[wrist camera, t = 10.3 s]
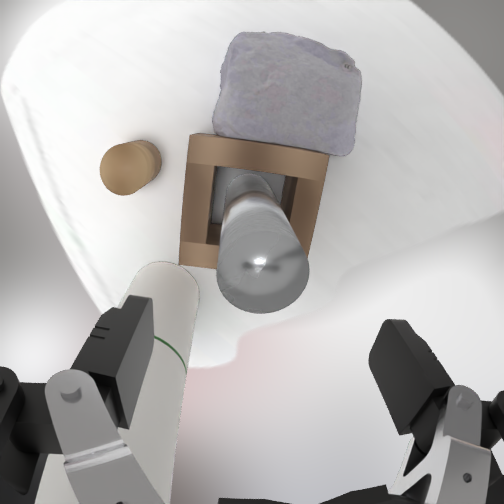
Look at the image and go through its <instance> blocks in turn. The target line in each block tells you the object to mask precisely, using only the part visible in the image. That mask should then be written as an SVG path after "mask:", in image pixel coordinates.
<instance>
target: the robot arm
mask: <svg viewBox="0 0 504 504" xmlns="http://www.w3.org/2000/svg"><path fill="white" fill-rule="evenodd" d="M153 346H154V319H153V300H152V298H149V297H142V296H135V295H129V296H128V297H127V299H126V301H125V302H124V304H123V306H122V308H121V309H120V308H114V307H112V308H111V309H110V310H108V311H107V312H105V313H104V314H102V315H101V317H100V318H99V320H98V322H97V323H96V325H95V328H93V330H92V332H91V334H90V337H88V338H87V340H86V342H85V344H84V345H83V347H82V349H81V351H80V352H79V354H78V356H77V358H76V360H75V361H74V363H73V365H72V367H71V368H70V370H63V371H60V372H58V373H56V374H55V375H53V376H52V377H51V378H50V379H49V380H48V382H47V383H23V382H19V380H18V378H17V376H16V374H15V373H14V372H13V371H12V370H11V369H9V368H6V367H0V504H35V500H36V496H37V493H38V489H39V485H40V481H41V478H42V474H43V471H44V468H45V464H46V461H47V458H48V455H49V454H63V455H64V458H65V462H64V468H65V471H66V474H67V477H68V479H69V482H70V484H71V486H72V489H73V491H74V493H75V495H76V498H77V500H78V502H79V504H165V503H164V502H163V500H162V499H161V497H160V496H159V495H158V493H157V492H156V490H155V489H154V487H153V486H152V484H151V483H150V481H149V480H148V478H147V476H146V475H145V473H144V472H143V470H142V468H141V467H140V465H139V463H138V462H137V460H136V458H135V457H134V455H133V453H132V452H131V450H130V449H129V447H128V446H127V444H125V443H124V442H123V440H122V438H121V436H120V434H119V433H118V431H117V430H118V427H119V428H124V429H128V430H129V429H130V425H131V421H132V418H133V414H134V411H135V407H136V404H137V400H138V397H139V394H140V390H141V387H142V384H143V380H144V377H145V374H146V371H147V368H148V364H149V361H150V358H151V355H152V352H153ZM369 367H370V370H371V372H372V374H373V376H374V378H375V380H376V383H377V385H378V387H379V389H380V392H381V394H382V396H383V399H384V401H385V403H386V405H387V408H388V410H389V412H390V415H391V417H392V419H393V422H394V424H395V426H396V429H397V431H398V434H399V435H404V434H409V433H412V434H413V436H414V437H413V438H412V439H411V440H410V442H409V444H408V447H407V450H406V454H405V456H404V459H403V462H402V465H401V467H400V470H399V473H398V476H397V478H396V481H395V482H394V484H393V486H392V487H391V489H390V490H389V491H388V490H387V487H386V485H382V486H377V487H372V488H367V489H362V490H357V491H351V492H349V493H346V494H343V495H341V496H338V497H336V498H334V499H331V500H328V501H325V502H322V503H320V504H504V475H502V473H501V471H500V468H499V466H498V464H497V462H496V459H495V457H494V455H493V453H492V451H491V448H492V447H493V446H494V445H495V444H496V443H497V442H498V441H499V440H500V439H501V438H502V439H503V441H504V391H501V392H499V393H498V395H497V396H496V397H495V398H494V400H493V401H492V402H491V401H481V400H480V398H479V396H478V395H477V394H476V393H475V392H474V391H473V390H472V389H470V388H468V387H466V386H463V385H456V386H455V384H454V383H453V381H452V380H451V378H450V377H449V375H448V374H447V373H446V371H445V369H444V368H443V366H442V365H441V363H440V362H439V360H437V357H436V356H435V354H434V353H432V350H431V349H430V347H429V346H428V344H427V343H426V342H425V341H424V340H423V339H422V338H421V337H420V336H418V335H417V334H416V333H415V332H414V330H413V329H412V327H411V326H410V325H409V323H408V322H407V321H406V320H396V319H387V320H385V321H384V323H383V324H382V326H381V328H380V331H379V333H378V335H377V338H376V340H375V343H374V345H373V347H372V349H371V351H370V354H369ZM218 504H289V503H283V502H277V501H272V500H266V499H230V498H219V500H218Z"/></svg>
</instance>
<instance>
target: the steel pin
mask: <svg viewBox="0 0 504 504" xmlns="http://www.w3.org/2000/svg"><path fill="white" fill-rule="evenodd" d="M308 278H309V263H308V259H307V256H306V254H305V252H304V250H303V248H302V246H301V244H300V242H299V240H298V239H297V237H296V235H295V233H294V231H293V229H292V227H291V225H290V223H289V222H288V220H287V218H286V216H285V214H284V212H283V210H282V208H281V207H280V205H279V203H278V201H277V199H276V197H275V196H274V194H273V192H272V190H271V188H270V187H269V185H268V183H267V182H266V181H265V180H264V179H263V178H262V177H260V176H258V175H256V174H250V173H247V174H242V175H239V176H237V177H236V178H234V179H233V180H232V181H231V182H230V184H229V186H228V188H227V191H226V198H225V206H224V213H223V221H222V229H221V237H220V246H219V254H218V263H217V282H218V286H219V288H220V291H221V292H222V294H223V296H224V297H225V298H226V299H227V300H228V301H229V302H230V303H231V304H232V305H234V306H235V307H237V308H239V309H241V310H244V311H247V312H250V313H260V314H263V313H271V312H275V311H279V310H281V309H283V308H285V307H287V306H289V305H290V304H292V303H293V302H294V301H295V300H296V299H297V298H298V297H299V296H300V295H301V294H302V292H303V291H304V289H305V287H306V285H307V282H308Z"/></svg>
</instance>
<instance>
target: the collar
mask: <svg viewBox="0 0 504 504" xmlns="http://www.w3.org/2000/svg"><path fill="white" fill-rule="evenodd" d="M328 160H329V155H326V154H324V153H321V152H318V151H314V150H309V149H304V148H299V147H293V146H286V145H280V144H273V143H265V142H259V141H252V140H245V139H238V138H230V137H224V136H219V135H212V134H202V133H197V134H192V135H190V137H189V146H188V154H187V163H186V173H185V183H184V194H183V206H182V218H181V232H180V248H179V265H186V266H194V267H203V268H211V269H217V263H218V254H219V246H220V237H221V229H222V225H220V224H211V217H212V208H213V199H214V191H215V182H216V174H217V166H223V167H231V168H239V169H247V170H254V171H261V172H268V173H275V174H281V175H286V177H285V183H284V188H283V194H282V199H281V205H280V207H281V208H282V210H283V212H284V214H285V216H286V218H287V220H288V222H289V223H290V225H291V227H292V229H293V231H294V233H295V235H296V237H297V239H298V240H299V242H300V244H301V246H302V248H303V250H304V252H305V254H306V256H307V258H308V254H309V250H310V245H311V241H312V237H313V232H314V228H315V223H316V219H317V214H318V210H319V205H320V200H321V195H322V191H323V186H324V181H325V176H326V171H327V166H328Z"/></svg>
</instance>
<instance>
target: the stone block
mask: <svg viewBox="0 0 504 504" xmlns="http://www.w3.org/2000/svg"><path fill="white" fill-rule="evenodd" d="M220 73H221V84H220V88H221V92H220V95H219V99H218V102H217V104H216V108H215V110H214V114H213V120H212V122H213V128H214V132H215V133H216V134H218V135H219V136H224V137H230V138H238V139H245V140H252V141H259V142H265V143H273V144H280V145H286V146H293V147H299V148H304V149H309V150H314V151H319V152H323V153H327V154H332V155H337V156H346V155H348V154H349V153H350V152H351V151H352V149H353V147H354V143H355V138H354V137H355V133H356V120H357V114H358V107H359V102H360V93H361V85H362V78H361V72H360V70H359V69H357V68H356V67H355V61H354V60H353V59H352V58H351V57H350V56H349V55H348V54H347V53H346V52H344V51H341V50H333V49H330V48H328V47H326V46H325V45H323V44H322V43H319V42H316V41H313V40H311V39H308V38H304V37H300V36H295V35H292V34H288V33H281V32H272V33H266V32H242V33H239V34H238V35H237V36H236V37H235V38H234V39H233V41H232V42H231V43H230V45H229V47H228V51H227V53H226V56H225V60H224V63H223V64H222V67H221V71H220Z"/></svg>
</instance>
